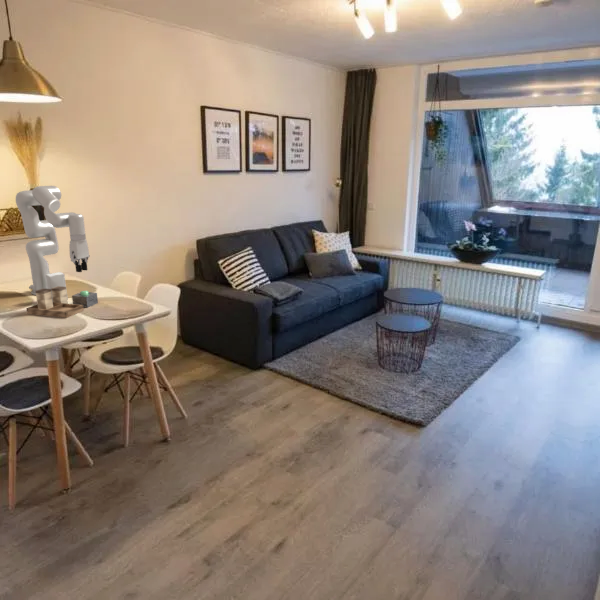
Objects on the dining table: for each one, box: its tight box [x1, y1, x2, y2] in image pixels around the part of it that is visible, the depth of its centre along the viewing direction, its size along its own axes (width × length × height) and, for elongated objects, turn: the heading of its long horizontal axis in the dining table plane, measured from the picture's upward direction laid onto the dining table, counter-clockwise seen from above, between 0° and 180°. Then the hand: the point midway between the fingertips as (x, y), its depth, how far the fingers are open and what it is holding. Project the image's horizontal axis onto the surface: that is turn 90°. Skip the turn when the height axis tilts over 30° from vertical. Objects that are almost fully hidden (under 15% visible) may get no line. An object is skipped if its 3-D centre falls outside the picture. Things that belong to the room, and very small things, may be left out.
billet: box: [51, 286, 69, 304], centre depth 264 cm, size 5×5×10 cm
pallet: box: [26, 302, 85, 319], centre depth 253 cm, size 24×13×3 cm, turn 76°
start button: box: [79, 290, 89, 296], centre depth 266 cm, size 4×4×5 cm
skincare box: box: [46, 271, 69, 302], centre depth 272 cm, size 8×7×16 cm
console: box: [71, 291, 99, 309], centre depth 266 cm, size 9×9×6 cm
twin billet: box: [35, 288, 53, 310], centre depth 253 cm, size 5×5×10 cm
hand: (81, 270), depth 262 cm, fingers open, 3 cm apart
